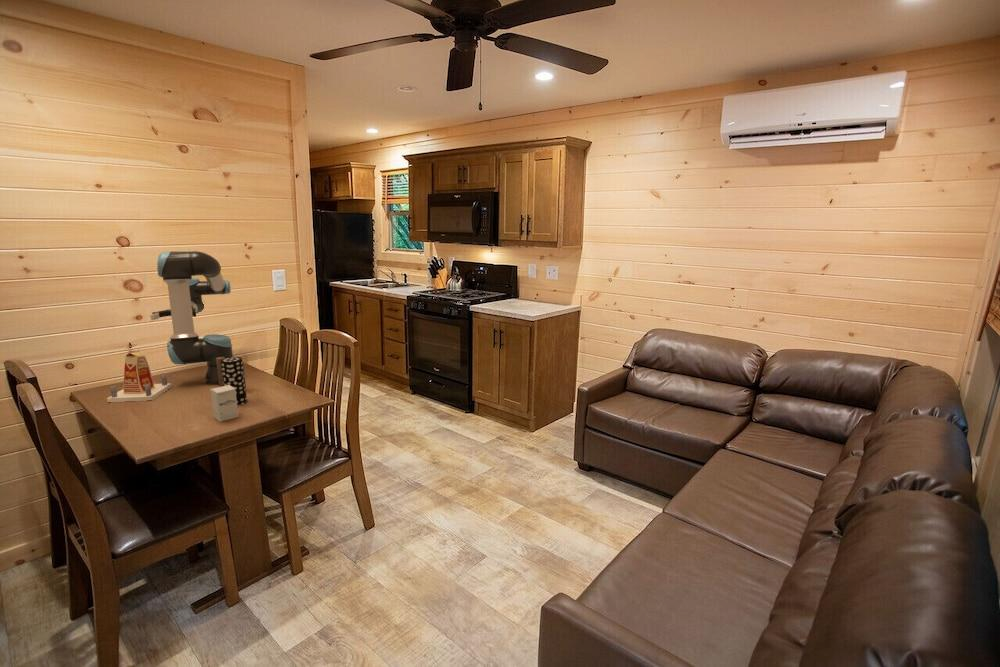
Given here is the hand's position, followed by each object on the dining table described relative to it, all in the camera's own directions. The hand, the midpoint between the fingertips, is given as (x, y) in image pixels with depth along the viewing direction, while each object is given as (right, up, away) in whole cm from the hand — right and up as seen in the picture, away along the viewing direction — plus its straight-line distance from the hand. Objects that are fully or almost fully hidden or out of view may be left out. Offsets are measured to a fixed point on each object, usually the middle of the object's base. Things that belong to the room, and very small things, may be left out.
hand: (166, 317), depth 240 cm
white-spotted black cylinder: (+47, -39, -23) cm, 65 cm away
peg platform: (-2, -36, -14) cm, 39 cm away
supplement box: (+51, -43, -39) cm, 77 cm away
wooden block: (+39, -36, -11) cm, 54 cm away
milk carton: (-2, -34, -15) cm, 38 cm away
